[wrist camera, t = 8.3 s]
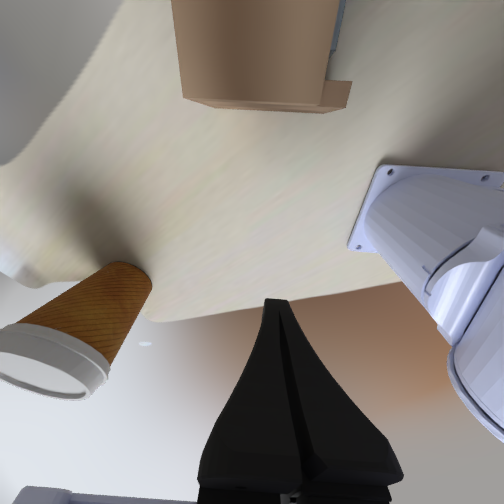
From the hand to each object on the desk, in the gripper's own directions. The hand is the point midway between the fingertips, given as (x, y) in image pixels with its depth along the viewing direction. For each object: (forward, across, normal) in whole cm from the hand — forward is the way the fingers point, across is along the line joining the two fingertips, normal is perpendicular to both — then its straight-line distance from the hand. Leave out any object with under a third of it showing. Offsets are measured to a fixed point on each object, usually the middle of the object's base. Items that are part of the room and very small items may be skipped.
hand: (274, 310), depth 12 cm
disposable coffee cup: (+11, +18, +9) cm, 23 cm away
